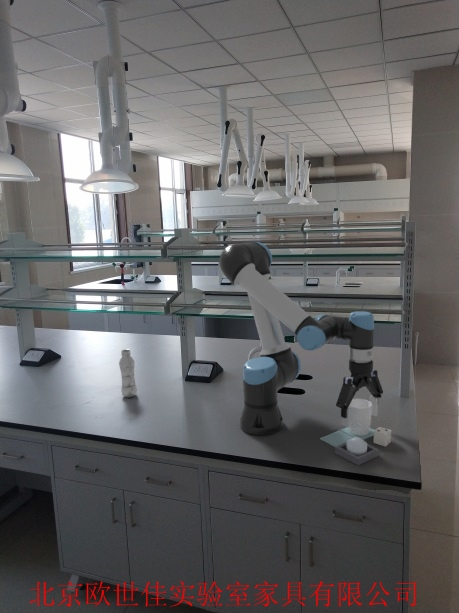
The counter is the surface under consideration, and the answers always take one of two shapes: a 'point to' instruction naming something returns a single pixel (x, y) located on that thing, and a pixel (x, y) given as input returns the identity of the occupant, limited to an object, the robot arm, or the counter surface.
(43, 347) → the counter surface
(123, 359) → the plastic bottle
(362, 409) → the white cup
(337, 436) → the tile
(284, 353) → the robot arm
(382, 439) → the die
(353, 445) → the dome
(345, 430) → the tile
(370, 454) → the frame
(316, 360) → the counter surface
